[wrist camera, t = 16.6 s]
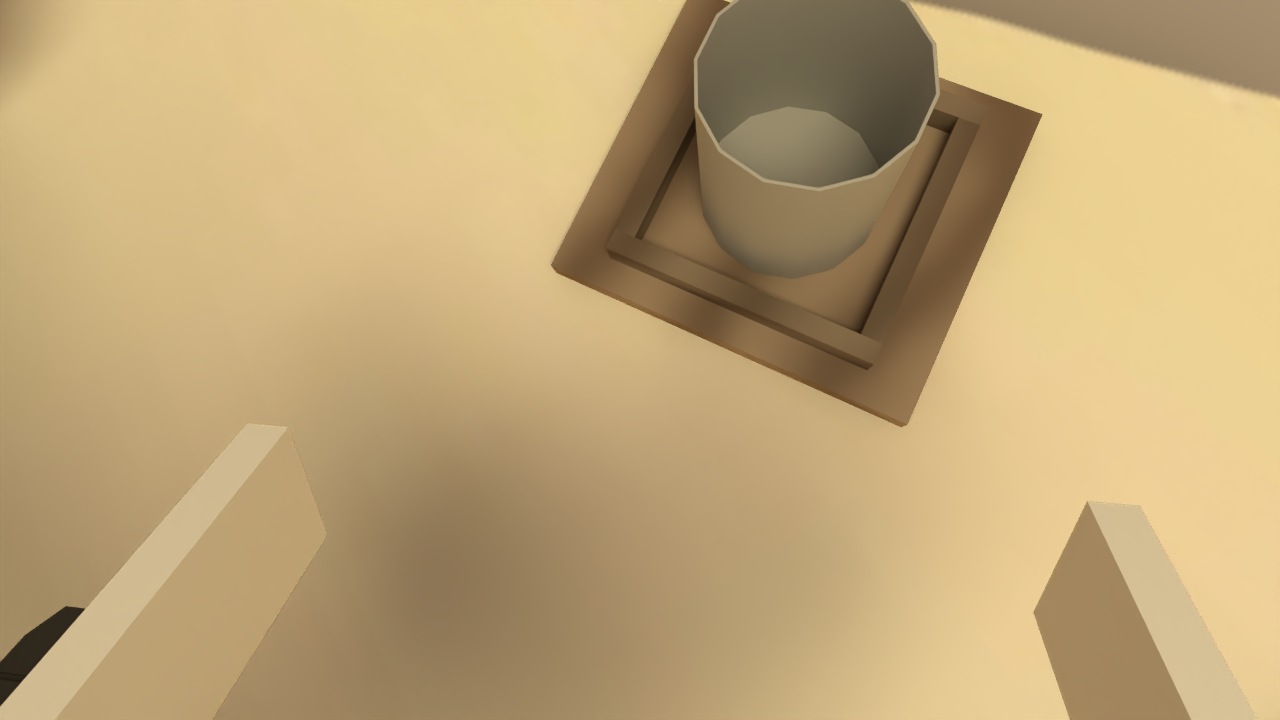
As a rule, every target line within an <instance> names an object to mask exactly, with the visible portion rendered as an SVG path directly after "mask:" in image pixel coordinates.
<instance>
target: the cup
mask: <svg viewBox="0 0 1280 720" xmlns="http://www.w3.org/2000/svg"><path fill="white" fill-rule="evenodd" d="M939 95H940V87H939V75H938V62H937V49H936V43H935V41H934V40H933V38H932V37H931V35H930V34H929V32H928V31H927V29H926V28H925V26H924V25H923V23H922V21H921V20H920V18H919V17H918V15H917V14H916V12H915V11H914V9H913V8H912V6H911V5H910V3H909V2H908V1H907V0H734V1H733V2H731V3H730V4H729V5H728V6H726V7H725V8H724V9H722V10H721V11H720V12H719V13H717V14H716V16H715V18H714V20H713V22H712V24H711V26H710V28H709V30H708V32H707V34H706V36H705V38H704V40H703V42H702V44H701V46H700V48H699V50H698V52H697V54H696V56H695V58H694V108H695V121H696V133H697V145H698V157H699V170H700V182H701V194H702V206H703V216H704V218H705V220H706V222H707V224H708V225H709V227H710V229H711V231H712V233H713V235H714V237H715V239H716V240H717V242H718V244H719V246H720V248H721V249H722V250H723V251H725V252H726V253H728V254H729V255H730V256H732V257H733V258H735V259H736V260H737V261H739V262H740V263H742V264H743V265H744V266H746V267H747V268H749V269H750V270H751V271H753V272H758V273H763V274H769V275H774V276H780V277H785V278H790V279H795V278H799V277H803V276H807V275H811V274H815V273H819V272H823V271H828V270H832V269H834V268H835V267H836V266H838V265H839V264H840V263H841V262H843V261H844V260H845V259H846V258H848V257H849V256H850V255H851V254H852V253H854V252H855V251H856V250H857V249H859V248H860V247H861V246H862V245H864V244H865V242H866V240H867V238H868V236H869V234H870V232H871V231H872V229H873V227H874V225H875V223H876V221H877V219H878V217H879V215H880V214H881V212H882V210H883V208H884V206H885V204H886V202H887V200H888V198H889V197H890V195H891V193H892V191H893V189H894V187H895V185H896V183H897V181H898V180H899V178H900V176H901V174H902V172H903V170H904V168H905V166H906V164H907V163H908V161H909V159H910V157H911V155H912V153H913V151H914V149H915V148H916V146H917V144H918V142H919V140H920V137H921V135H922V133H923V131H924V129H925V126H926V124H927V122H928V120H929V117H930V115H931V113H932V111H933V109H934V106H935V104H936V102H937V100H938V98H939Z"/></svg>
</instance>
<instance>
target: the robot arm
mask: <svg viewBox="0 0 1280 720" xmlns="http://www.w3.org/2000/svg"><path fill="white" fill-rule="evenodd" d="M326 536H327V533H326V530H325V527H324V524H323V522H322V519H321V516H320V513H319V510H318V508H317V505H316V502H315V499H314V496H313V494H312V491H311V488H310V485H309V482H308V480H307V477H306V474H305V471H304V468H303V466H302V463H301V460H300V457H299V455H298V452H297V449H296V446H295V443H294V441H293V438H292V435H291V432H290V429H289V427H284V426H273V425H262V424H251V423H247V424H246V426H245V427H244V428H243V429H242V430H241V431H240V432H239V434H238V435H237V436H236V437H235V438H234V439H233V440H232V442H231V443H230V444H229V445H228V446H227V447H226V448H225V450H224V451H223V452H222V453H221V454H220V455H219V456H218V458H217V459H216V460H215V461H214V462H213V463H212V465H211V466H210V467H209V468H208V469H207V470H206V471H205V473H204V474H203V475H202V476H201V477H200V478H199V479H198V481H197V482H196V483H195V484H194V485H193V486H192V487H191V489H190V490H189V491H188V492H187V493H186V494H185V495H184V497H183V498H182V499H181V500H180V501H179V502H178V503H177V505H176V506H175V507H174V508H173V509H172V510H171V512H170V513H169V514H168V515H167V516H166V517H165V518H164V520H163V521H162V522H161V523H160V524H159V525H158V526H157V528H156V529H155V530H154V531H153V532H152V533H151V534H150V536H149V537H148V538H147V539H146V540H145V541H144V542H143V544H142V545H141V546H140V547H139V548H138V549H137V550H136V552H135V553H134V554H133V555H132V556H131V557H130V558H129V560H128V561H127V562H126V563H125V564H124V565H123V567H122V568H121V569H120V570H119V571H118V572H117V573H116V575H115V576H114V577H113V578H112V579H111V580H110V581H109V583H108V584H107V585H106V586H105V587H104V588H103V589H102V591H101V592H100V593H99V594H98V595H97V596H96V597H95V599H94V600H93V601H92V602H91V603H90V604H89V605H88V607H87V608H86V609H84V608H76V607H68V606H66V607H64V608H63V609H61V610H60V611H59V612H57V613H56V614H54V615H53V616H52V617H50V618H49V619H47V620H46V621H44V622H43V623H42V624H40V625H39V626H37V627H36V628H35V629H33V630H32V631H30V632H29V633H28V634H26V635H25V636H24V637H23V638H22V639H21V640H20V641H19V642H18V644H17V645H16V646H15V647H14V648H13V649H12V650H11V651H10V652H9V653H8V654H7V655H6V657H5V658H4V659H3V660H2V661H1V662H0V720H212V719H213V718H214V716H215V715H216V713H217V711H218V710H219V708H220V707H221V705H222V703H223V702H224V700H225V699H226V697H227V695H228V694H229V692H230V691H231V689H232V687H233V686H234V684H235V683H236V681H237V679H238V678H239V676H240V674H241V673H242V671H243V670H244V668H245V666H246V665H247V663H248V662H249V660H250V658H251V657H252V655H253V654H254V652H255V650H256V649H257V647H258V646H259V644H260V642H261V641H262V639H263V637H264V636H265V634H266V633H267V631H268V629H269V628H270V626H271V625H272V623H273V621H274V620H275V618H276V617H277V615H278V613H279V612H280V610H281V609H282V607H283V605H284V604H285V602H286V601H287V599H288V597H289V596H290V594H291V592H292V591H293V589H294V588H295V586H296V584H297V583H298V581H299V580H300V578H301V576H302V575H303V573H304V572H305V570H306V568H307V567H308V565H309V564H310V562H311V560H312V559H313V557H314V555H315V554H316V552H317V551H318V549H319V547H320V546H321V544H322V543H323V541H324V539H325V538H326ZM1034 615H1035V618H1036V621H1037V624H1038V627H1039V630H1040V633H1041V636H1042V639H1043V642H1044V645H1045V648H1046V651H1047V653H1048V656H1049V659H1050V662H1051V665H1052V668H1053V671H1054V674H1055V677H1056V680H1057V683H1058V686H1059V689H1060V692H1061V695H1062V698H1063V701H1064V704H1065V706H1066V709H1067V712H1068V715H1069V718H1070V720H1258V719H1257V717H1256V715H1255V714H1254V712H1253V710H1252V708H1251V706H1250V704H1249V703H1248V701H1247V699H1246V697H1245V695H1244V694H1243V692H1242V690H1241V688H1240V686H1239V684H1238V683H1237V681H1236V679H1235V677H1234V675H1233V674H1232V672H1231V670H1230V668H1229V666H1228V664H1227V663H1226V661H1225V659H1224V657H1223V655H1222V654H1221V652H1220V650H1219V648H1218V646H1217V644H1216V643H1215V641H1214V639H1213V637H1212V635H1211V634H1210V632H1209V630H1208V628H1207V626H1206V624H1205V623H1204V621H1203V619H1202V617H1201V615H1200V614H1199V612H1198V610H1197V608H1196V606H1195V604H1194V603H1193V601H1192V599H1191V597H1190V595H1189V594H1188V592H1187V590H1186V588H1185V586H1184V585H1183V583H1182V581H1181V579H1180V577H1179V575H1178V574H1177V572H1176V570H1175V568H1174V566H1173V565H1172V563H1171V561H1170V559H1169V557H1168V555H1167V554H1166V552H1165V550H1164V548H1163V546H1162V545H1161V543H1160V541H1159V539H1158V537H1157V535H1156V534H1155V532H1154V530H1153V528H1152V526H1151V525H1150V523H1149V521H1148V519H1147V517H1146V515H1145V514H1144V512H1143V510H1142V508H1141V506H1135V505H1125V504H1114V503H1103V502H1092V501H1087V503H1086V505H1085V507H1084V509H1083V511H1082V513H1081V515H1080V517H1079V519H1078V521H1077V523H1076V525H1075V527H1074V529H1073V532H1072V534H1071V536H1070V538H1069V540H1068V542H1067V544H1066V546H1065V548H1064V550H1063V552H1062V554H1061V556H1060V558H1059V560H1058V563H1057V565H1056V567H1055V569H1054V571H1053V573H1052V575H1051V577H1050V579H1049V581H1048V583H1047V585H1046V587H1045V589H1044V591H1043V594H1042V596H1041V598H1040V600H1039V602H1038V604H1037V606H1036V608H1035V610H1034Z"/></svg>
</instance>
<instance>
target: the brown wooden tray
mask: <svg viewBox="0 0 1280 720" xmlns="http://www.w3.org/2000/svg"><path fill="white" fill-rule="evenodd" d="M729 4H730V3H729V2H727V1H724V0H687V1H686V3H685V5H684V7H683V9H682V11H681V13H680V15H679V17H678V18H677V20H676V22H675V24H674V26H673V28H672V30H671V32H670V34H669V36H668V38H667V40H666V42H665V44H664V46H663V48H662V50H661V52H660V54H659V56H658V58H657V59H656V61H655V63H654V65H653V67H652V69H651V71H650V73H649V75H648V77H647V79H646V81H645V83H644V85H643V87H642V89H641V91H640V93H639V95H638V97H637V99H636V100H635V102H634V104H633V106H632V108H631V110H630V112H629V114H628V116H627V118H626V120H625V122H624V124H623V126H622V128H621V130H620V132H619V134H618V136H617V138H616V140H615V141H614V143H613V145H612V147H611V149H610V151H609V153H608V155H607V157H606V159H605V161H604V163H603V165H602V167H601V169H600V171H599V173H598V175H597V177H596V179H595V181H594V182H593V184H592V186H591V188H590V190H589V192H588V194H587V196H586V198H585V200H584V202H583V204H582V206H581V208H580V210H579V212H578V214H577V216H576V218H575V220H574V222H573V223H572V225H571V227H570V229H569V231H568V233H567V235H566V237H565V239H564V241H563V243H562V245H561V247H560V249H559V251H558V253H557V255H556V257H555V259H554V261H553V263H552V264H551V266H552V267H553V268H554V270H555V271H556V273H559V274H561V275H563V276H565V277H568V278H570V279H572V280H574V281H576V282H579V283H581V284H583V285H585V286H588V287H590V288H592V289H594V290H597V291H599V292H601V293H603V294H605V295H608V296H610V297H612V298H614V299H617V300H619V301H621V302H623V303H626V304H628V305H630V306H632V307H634V308H637V309H639V310H641V311H643V312H646V313H648V314H650V315H652V316H655V317H657V318H659V319H661V320H663V321H666V322H668V323H670V324H672V325H675V326H677V327H679V328H681V329H684V330H686V331H688V332H690V333H692V334H695V335H697V336H699V337H701V338H704V339H706V340H708V341H710V342H713V343H715V344H717V345H719V346H721V347H724V348H726V349H728V350H730V351H733V352H735V353H737V354H739V355H742V356H744V357H746V358H748V359H751V360H753V361H755V362H757V363H759V364H762V365H764V366H766V367H768V368H771V369H773V370H775V371H777V372H780V373H782V374H784V375H786V376H788V377H791V378H793V379H795V380H797V381H800V382H802V383H804V384H806V385H809V386H811V387H813V388H815V389H817V390H820V391H822V392H824V393H826V394H829V395H831V396H833V397H835V398H838V399H840V400H842V401H844V402H846V403H849V404H851V405H853V406H855V407H858V408H860V409H862V410H864V411H867V412H869V413H871V414H873V415H875V416H878V417H880V418H882V419H884V420H887V421H889V422H891V423H893V424H896V425H898V426H900V427H902V426H905V425H907V424H908V422H909V419H910V417H911V415H912V413H913V410H914V408H915V406H916V403H917V401H918V399H919V396H920V394H921V392H922V390H923V387H924V385H925V383H926V380H927V378H928V376H929V374H930V371H931V369H932V367H933V364H934V362H935V360H936V357H937V355H938V353H939V351H940V348H941V346H942V344H943V341H944V339H945V337H946V335H947V332H948V330H949V328H950V325H951V323H952V321H953V318H954V316H955V314H956V312H957V309H958V307H959V305H960V302H961V300H962V298H963V296H964V293H965V291H966V289H967V286H968V284H969V282H970V279H971V277H972V275H973V273H974V270H975V268H976V266H977V263H978V261H979V259H980V257H981V254H982V252H983V250H984V247H985V245H986V243H987V240H988V238H989V236H990V234H991V231H992V229H993V227H994V224H995V222H996V220H997V218H998V215H999V213H1000V211H1001V208H1002V206H1003V204H1004V201H1005V199H1006V197H1007V195H1008V192H1009V190H1010V188H1011V185H1012V183H1013V181H1014V179H1015V176H1016V174H1017V172H1018V169H1019V167H1020V165H1021V162H1022V160H1023V158H1024V156H1025V153H1026V151H1027V149H1028V146H1029V144H1030V142H1031V140H1032V137H1033V135H1034V133H1035V130H1036V128H1037V126H1038V123H1039V121H1040V119H1041V117H1042V114H1040V113H1037V112H1034V111H1032V110H1029V109H1026V108H1023V107H1020V106H1018V105H1015V104H1012V103H1009V102H1006V101H1004V100H1001V99H998V98H995V97H992V96H990V95H987V94H984V93H981V92H978V91H976V90H973V89H970V88H967V87H964V86H962V85H959V84H956V83H953V82H950V81H948V80H945V79H942V78H939V87H940V95H939V98H938V100H937V102H936V104H935V106H934V109H933V111H932V113H931V115H930V117H929V120H928V122H927V124H926V126H925V129H924V131H923V133H922V135H921V137H920V140H919V142H918V144H917V146H916V148H915V149H914V151H913V153H912V155H911V157H910V159H909V161H908V163H907V164H906V166H905V168H904V170H903V172H902V174H901V176H900V178H899V180H898V181H897V183H896V185H895V187H894V189H893V191H892V193H891V195H890V197H889V198H888V200H887V202H886V204H885V206H884V208H883V210H882V212H881V214H880V215H879V217H878V219H877V221H876V223H875V225H874V227H873V229H872V231H871V232H870V234H869V236H868V238H867V240H866V242H865V244H864V245H862V246H861V247H860V248H859V249H857V250H856V251H855V252H854V253H852V254H851V255H850V256H849V257H848V258H846V259H845V260H844V261H843V262H841V263H840V264H839V265H838V266H836V267H835V268H834V269H832V270H828V271H823V272H819V273H815V274H811V275H807V276H803V277H799V278H795V279H790V278H785V277H780V276H774V275H769V274H763V273H758V272H753V271H751V270H750V269H749V268H747V267H746V266H744V265H743V264H742V263H740V262H739V261H737V260H736V259H735V258H733V257H732V256H730V255H729V254H728V253H726V252H725V251H723V250H722V249H721V248H720V246H719V244H718V242H717V240H716V239H715V237H714V235H713V233H712V231H711V229H710V227H709V225H708V224H707V222H706V220H705V218H704V216H703V206H702V194H701V182H700V170H699V157H698V145H697V133H696V121H695V108H694V58H695V56H696V54H697V52H698V50H699V48H700V46H701V44H702V42H703V40H704V38H705V36H706V34H707V32H708V30H709V28H710V26H711V24H712V22H713V20H714V18H715V16H716V14H717V13H719V12H720V11H721V10H722V9H724V8H725V7H726V6H728V5H729Z"/></svg>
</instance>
